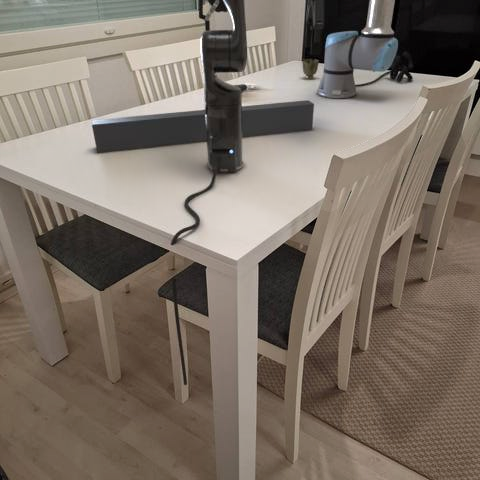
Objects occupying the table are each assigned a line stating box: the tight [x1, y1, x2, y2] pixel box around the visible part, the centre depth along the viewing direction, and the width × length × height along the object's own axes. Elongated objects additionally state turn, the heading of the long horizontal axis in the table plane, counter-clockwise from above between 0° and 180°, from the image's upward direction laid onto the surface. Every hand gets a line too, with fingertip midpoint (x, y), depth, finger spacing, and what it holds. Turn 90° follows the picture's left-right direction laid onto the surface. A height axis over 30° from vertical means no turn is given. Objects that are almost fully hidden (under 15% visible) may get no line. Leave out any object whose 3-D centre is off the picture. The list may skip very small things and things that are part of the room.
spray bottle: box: [233, 82, 261, 95], centre depth 184 cm, size 3×11×25 cm
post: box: [91, 99, 315, 154], centre depth 137 cm, size 67×5×8 cm, turn 105°
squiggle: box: [389, 51, 414, 83], centre depth 198 cm, size 11×10×15 cm
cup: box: [301, 58, 320, 80], centre depth 204 cm, size 8×7×8 cm
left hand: (222, 33), depth 141 cm, fingers open, 8 cm apart
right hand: (312, 50), depth 130 cm, fingers open, 13 cm apart
